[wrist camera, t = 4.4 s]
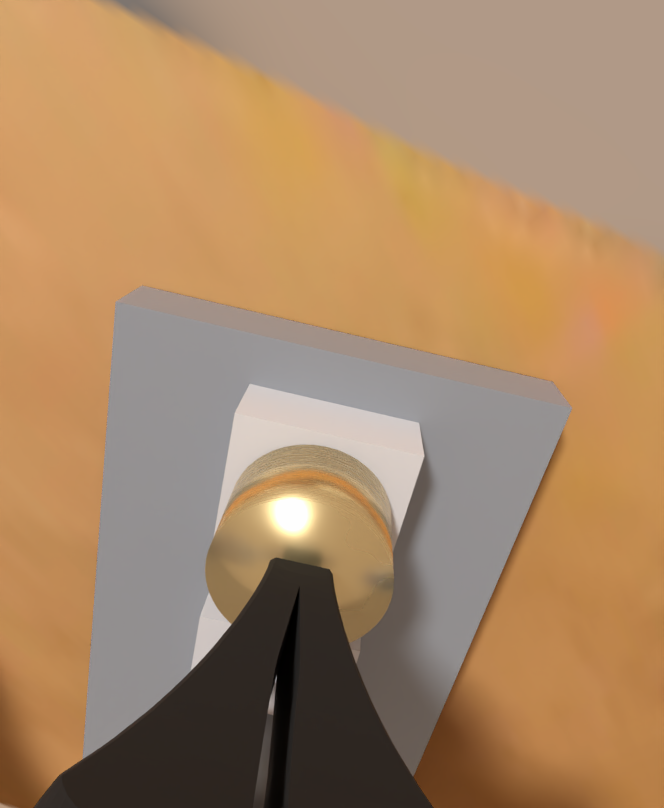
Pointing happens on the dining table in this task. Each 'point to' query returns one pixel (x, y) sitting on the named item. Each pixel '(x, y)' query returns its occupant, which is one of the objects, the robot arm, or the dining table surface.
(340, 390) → the mount
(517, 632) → the dining table surface
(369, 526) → the knob
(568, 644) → the dining table surface
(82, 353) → the dining table surface
